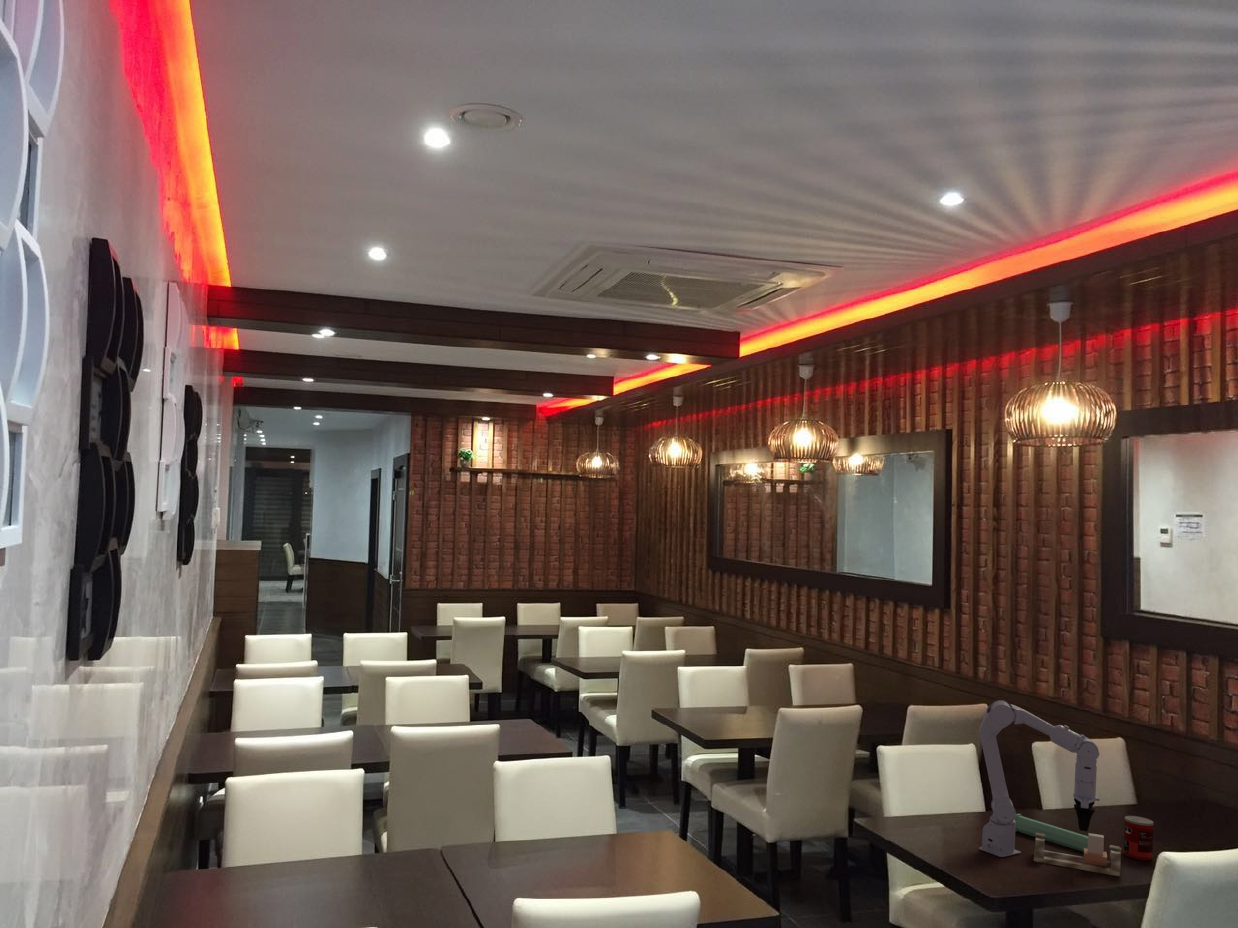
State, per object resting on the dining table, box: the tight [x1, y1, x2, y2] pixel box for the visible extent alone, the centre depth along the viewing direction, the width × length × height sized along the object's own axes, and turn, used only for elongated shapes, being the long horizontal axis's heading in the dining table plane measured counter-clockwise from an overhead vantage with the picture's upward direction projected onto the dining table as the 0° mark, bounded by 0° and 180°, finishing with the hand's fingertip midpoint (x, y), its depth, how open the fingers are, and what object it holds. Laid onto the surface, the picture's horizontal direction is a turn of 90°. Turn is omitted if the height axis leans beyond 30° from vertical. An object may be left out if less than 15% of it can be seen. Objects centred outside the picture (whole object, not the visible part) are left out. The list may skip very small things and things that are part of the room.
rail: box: [1033, 833, 1123, 877], centre depth 297 cm, size 23×8×7 cm, turn 66°
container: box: [1014, 813, 1088, 853], centre depth 318 cm, size 6×6×25 cm
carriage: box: [1083, 832, 1108, 867], centre depth 295 cm, size 6×6×8 cm
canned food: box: [1123, 815, 1155, 861], centre depth 309 cm, size 8×8×11 cm
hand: (1083, 827), depth 299 cm, fingers open, 7 cm apart
